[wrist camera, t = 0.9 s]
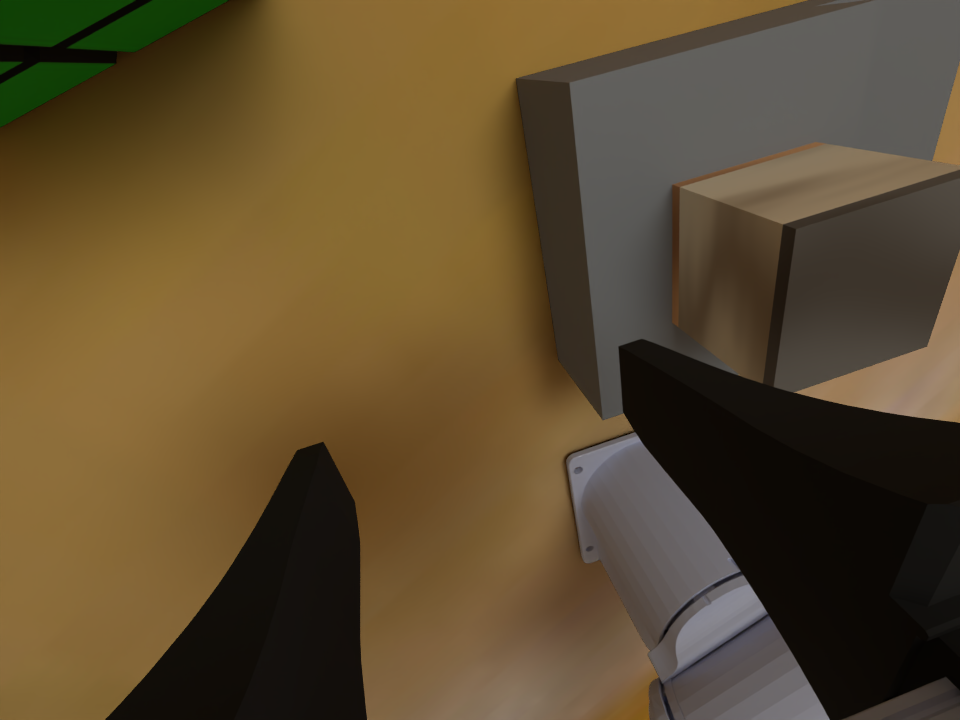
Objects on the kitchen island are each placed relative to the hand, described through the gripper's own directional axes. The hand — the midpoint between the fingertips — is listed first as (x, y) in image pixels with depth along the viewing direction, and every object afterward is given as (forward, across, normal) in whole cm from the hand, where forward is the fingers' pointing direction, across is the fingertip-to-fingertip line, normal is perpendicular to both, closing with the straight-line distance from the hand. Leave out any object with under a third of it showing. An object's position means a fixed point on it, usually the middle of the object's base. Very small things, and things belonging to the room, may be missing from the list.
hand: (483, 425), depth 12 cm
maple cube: (+5, -10, 0) cm, 12 cm away
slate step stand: (+10, -13, 0) cm, 16 cm away
